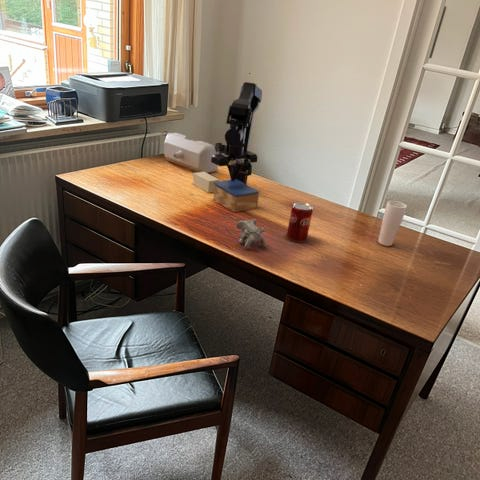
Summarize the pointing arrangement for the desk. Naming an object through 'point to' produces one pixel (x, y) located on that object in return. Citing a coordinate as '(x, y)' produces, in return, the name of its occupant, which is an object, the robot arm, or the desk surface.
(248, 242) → the gray elephant figurine
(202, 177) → the case
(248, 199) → the storage box
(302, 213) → the soda can
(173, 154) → the tank
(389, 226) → the drinking glass
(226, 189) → the blue lid
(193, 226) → the desk surface
